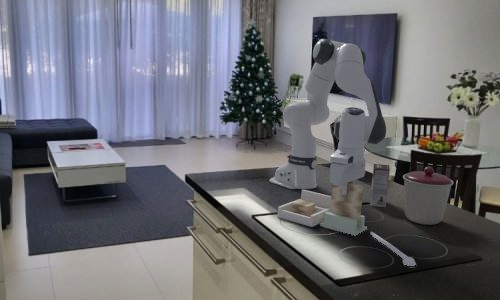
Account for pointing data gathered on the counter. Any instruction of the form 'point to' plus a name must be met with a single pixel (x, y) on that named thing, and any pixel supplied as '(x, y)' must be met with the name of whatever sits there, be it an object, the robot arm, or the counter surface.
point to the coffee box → (379, 185)
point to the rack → (321, 207)
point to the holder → (343, 223)
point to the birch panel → (347, 201)
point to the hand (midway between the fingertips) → (346, 193)
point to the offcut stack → (303, 208)
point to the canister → (426, 196)
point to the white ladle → (396, 251)
